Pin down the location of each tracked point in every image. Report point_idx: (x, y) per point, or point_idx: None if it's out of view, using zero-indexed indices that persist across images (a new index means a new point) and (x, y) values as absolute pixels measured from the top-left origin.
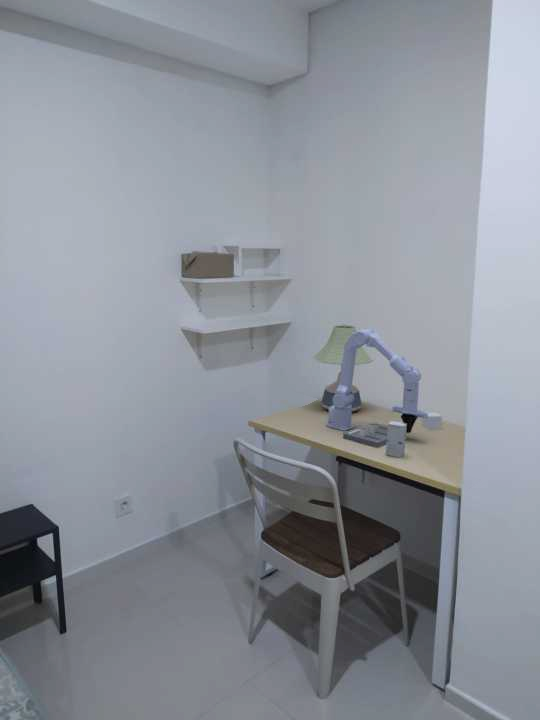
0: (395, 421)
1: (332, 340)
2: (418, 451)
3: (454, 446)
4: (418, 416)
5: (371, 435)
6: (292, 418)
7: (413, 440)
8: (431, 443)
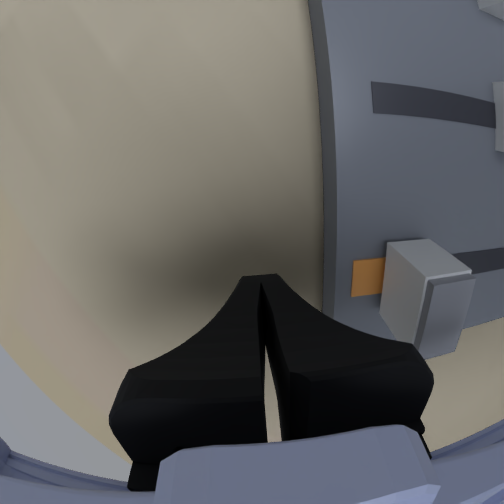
0: (454, 341)
1: None
2: (28, 83)
3: (15, 350)
4: (79, 479)
5: (460, 8)
6: None
7: (207, 276)
8: (88, 313)
